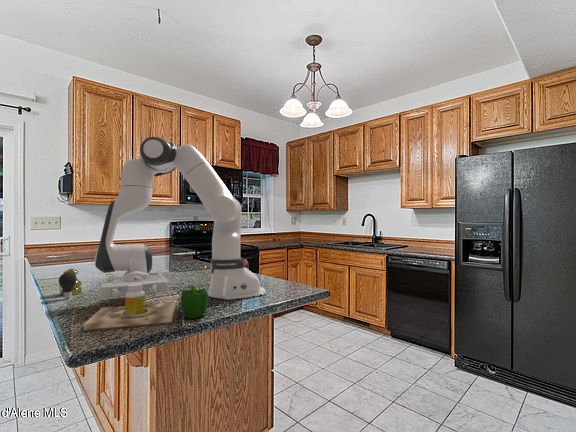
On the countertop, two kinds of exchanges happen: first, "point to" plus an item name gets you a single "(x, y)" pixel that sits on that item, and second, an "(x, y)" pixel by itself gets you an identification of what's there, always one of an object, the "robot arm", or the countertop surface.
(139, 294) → the supplement bottle
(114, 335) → the countertop surface
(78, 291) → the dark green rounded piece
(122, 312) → the socket board
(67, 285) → the light bulb
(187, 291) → the bell pepper
